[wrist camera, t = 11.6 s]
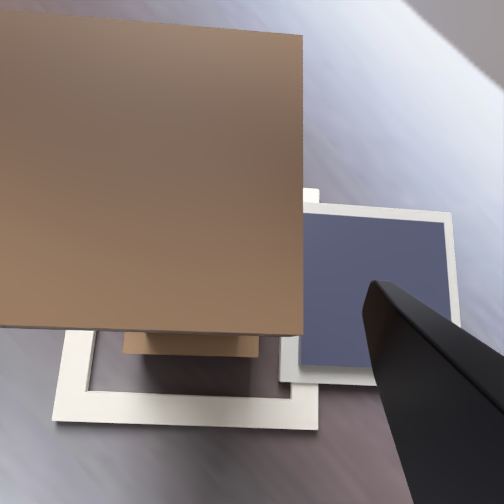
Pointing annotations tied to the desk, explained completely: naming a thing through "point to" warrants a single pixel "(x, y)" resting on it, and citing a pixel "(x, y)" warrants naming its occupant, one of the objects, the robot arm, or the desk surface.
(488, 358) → the robot arm
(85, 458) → the desk surface
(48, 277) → the stamp
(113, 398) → the marked square
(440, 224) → the ink pad
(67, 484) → the desk surface
